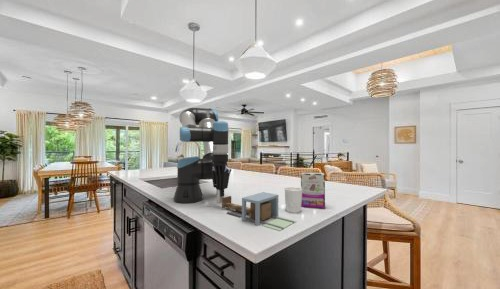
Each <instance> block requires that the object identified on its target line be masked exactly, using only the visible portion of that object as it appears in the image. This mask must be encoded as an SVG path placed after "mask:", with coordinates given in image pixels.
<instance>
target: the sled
mask: <svg viewBox="0 0 500 289" xmlns="http://www.w3.org/2000/svg"><path fill="white" fill-rule="evenodd" d="M249 204H250V206H249V207H248V206H246V213H248V215H250V217H249V218H253V219H255V203H251V202H249ZM221 208H222V209H225V208H227V209H230V210H233V211H235V210H237V211H241V212H242V204H241V205H240V204H236V203H232V196H231V195H229V196H228V195H227V196H224V198H222V203H221ZM269 218H271V202H267V201H266V202H263V203H260V221H263V222H264V221H265V220H267V219H269Z"/></svg>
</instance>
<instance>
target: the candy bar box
mask: <svg viewBox="0 0 500 289" xmlns="http://www.w3.org/2000/svg"><path fill="white" fill-rule="evenodd" d="M325 175H326V174H325V173H324V172H301V174H300V188H301V189H302V203H301V208H309V209H310V208H311V209H321V210H322V209H323V210H325V209H326V185H325V184H326V177H325Z"/></svg>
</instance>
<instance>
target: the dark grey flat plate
mask: <svg viewBox="0 0 500 289" xmlns="http://www.w3.org/2000/svg"><path fill="white" fill-rule="evenodd" d="M231 212H232V213H236V214H239V215H242V212H241V211H237V210H232V211H231ZM226 214H227V215H230V216H233V217H237V218H239V219H240V218H241V217H240V216H236V215H233V214H230V213H227V212H226ZM248 215H249V214H248V213H246V216H248Z"/></svg>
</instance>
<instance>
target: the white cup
mask: <svg viewBox="0 0 500 289" xmlns="http://www.w3.org/2000/svg"><path fill="white" fill-rule="evenodd" d="M301 203H302V189H301V187H296V186H295V187H294V186H293V187H292V186H290V187H285V188H284V204H285V211H286V212H287V213H292V214H293V213H295V214H298V213H300V212H302V207H301Z"/></svg>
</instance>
